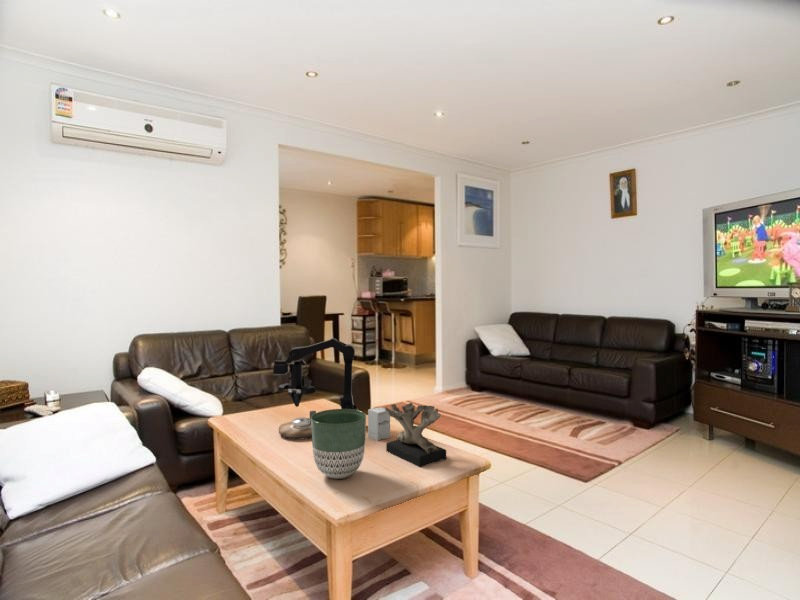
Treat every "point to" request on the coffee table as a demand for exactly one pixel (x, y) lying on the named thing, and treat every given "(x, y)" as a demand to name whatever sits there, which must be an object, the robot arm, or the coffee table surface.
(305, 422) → the cover
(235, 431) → the coffee table surface
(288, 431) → the turntable
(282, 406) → the coffee table surface
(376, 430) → the supplement box
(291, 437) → the turntable base
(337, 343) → the robot arm
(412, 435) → the coral
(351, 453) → the planter
